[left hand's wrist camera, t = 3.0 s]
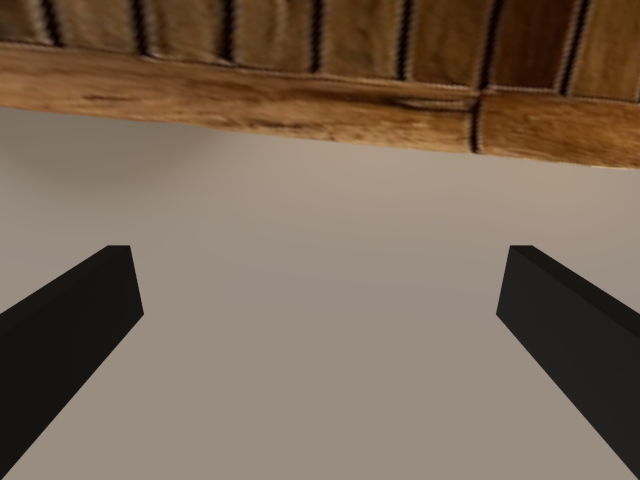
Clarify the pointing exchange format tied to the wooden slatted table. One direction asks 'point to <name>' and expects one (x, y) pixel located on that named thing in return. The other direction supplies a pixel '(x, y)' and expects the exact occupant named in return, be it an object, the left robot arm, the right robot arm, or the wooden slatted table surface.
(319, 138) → the wooden slatted table surface
